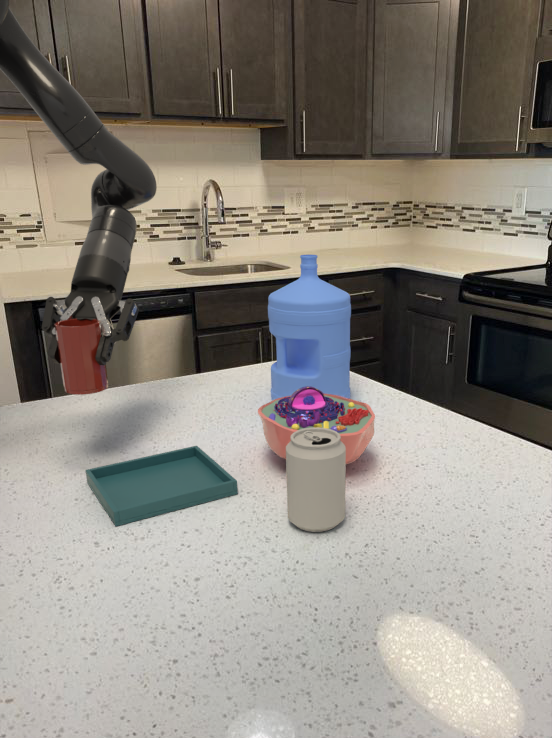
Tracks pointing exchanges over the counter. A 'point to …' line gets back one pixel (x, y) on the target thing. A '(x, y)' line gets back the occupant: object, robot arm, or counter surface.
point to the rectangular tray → (159, 484)
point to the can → (316, 479)
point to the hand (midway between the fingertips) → (77, 361)
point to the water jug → (310, 335)
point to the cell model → (317, 420)
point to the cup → (80, 356)
